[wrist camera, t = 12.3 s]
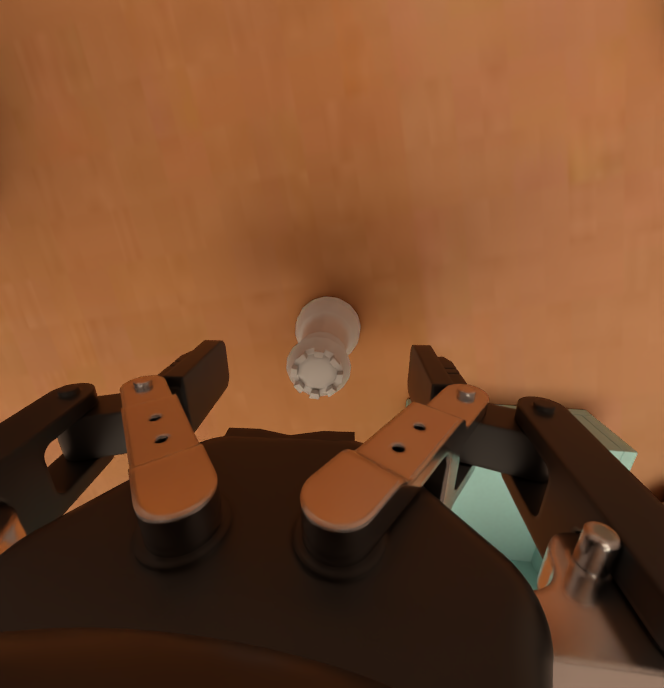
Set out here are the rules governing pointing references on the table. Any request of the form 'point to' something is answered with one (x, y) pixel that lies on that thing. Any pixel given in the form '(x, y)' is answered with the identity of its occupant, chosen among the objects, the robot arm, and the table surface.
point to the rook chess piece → (323, 347)
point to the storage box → (501, 512)
